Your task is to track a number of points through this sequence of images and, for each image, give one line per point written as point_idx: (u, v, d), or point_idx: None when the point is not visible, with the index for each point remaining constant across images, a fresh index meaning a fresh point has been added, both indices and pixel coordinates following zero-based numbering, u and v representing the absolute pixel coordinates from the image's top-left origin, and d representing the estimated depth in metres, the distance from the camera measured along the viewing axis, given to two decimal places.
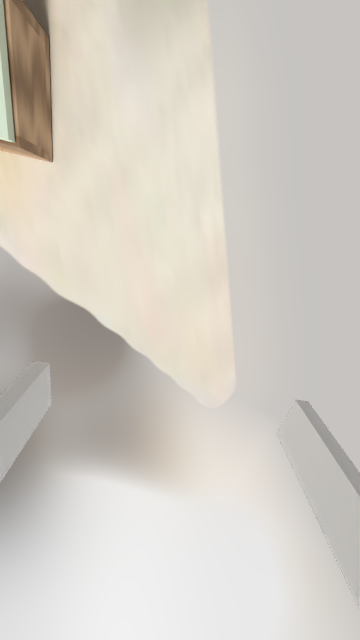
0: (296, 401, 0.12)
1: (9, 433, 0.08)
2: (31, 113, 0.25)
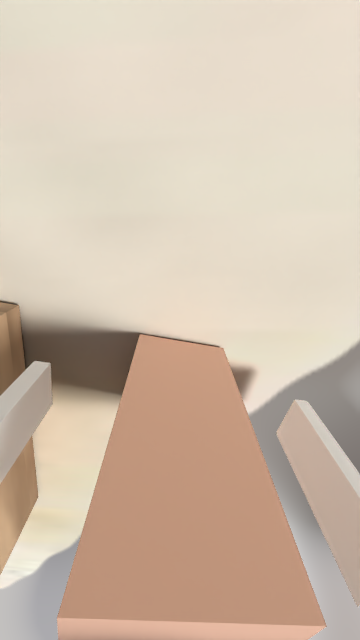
0: (295, 400, 0.12)
1: (11, 432, 0.08)
2: None
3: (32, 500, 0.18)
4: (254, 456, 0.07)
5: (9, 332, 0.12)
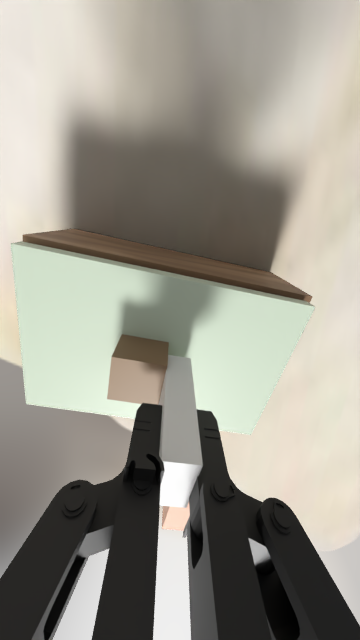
0: (179, 357, 0.14)
1: None
2: None
3: None
4: None
5: None
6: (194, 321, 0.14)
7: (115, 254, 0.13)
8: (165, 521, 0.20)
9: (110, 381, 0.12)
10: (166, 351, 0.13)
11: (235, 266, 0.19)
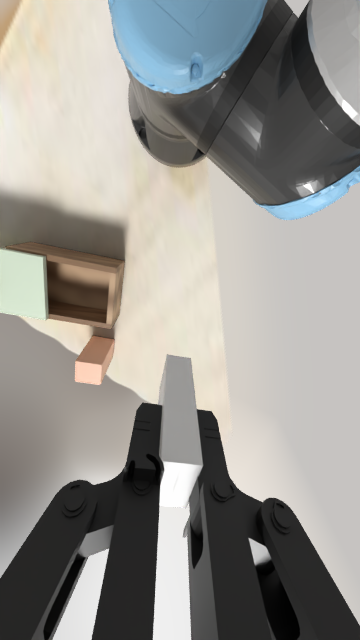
0: (179, 357, 0.14)
1: None
2: (116, 306, 0.44)
3: None
4: (105, 373, 0.48)
5: None
6: None
7: (39, 252, 0.37)
8: (75, 376, 0.44)
9: None
10: None
11: (103, 258, 0.43)
